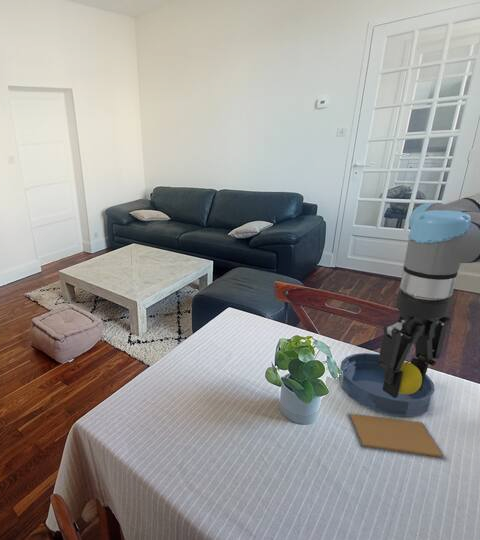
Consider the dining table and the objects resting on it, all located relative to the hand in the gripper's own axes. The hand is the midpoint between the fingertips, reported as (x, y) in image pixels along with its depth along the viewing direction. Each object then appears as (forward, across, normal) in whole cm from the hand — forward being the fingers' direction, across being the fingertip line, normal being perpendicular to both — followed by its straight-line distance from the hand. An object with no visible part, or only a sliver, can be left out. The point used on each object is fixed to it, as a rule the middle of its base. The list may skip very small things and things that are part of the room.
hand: (401, 389), depth 73 cm
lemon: (+1, 0, 0) cm, 1 cm away
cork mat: (+12, 0, 0) cm, 12 cm away
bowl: (+12, -10, -12) cm, 20 cm away
